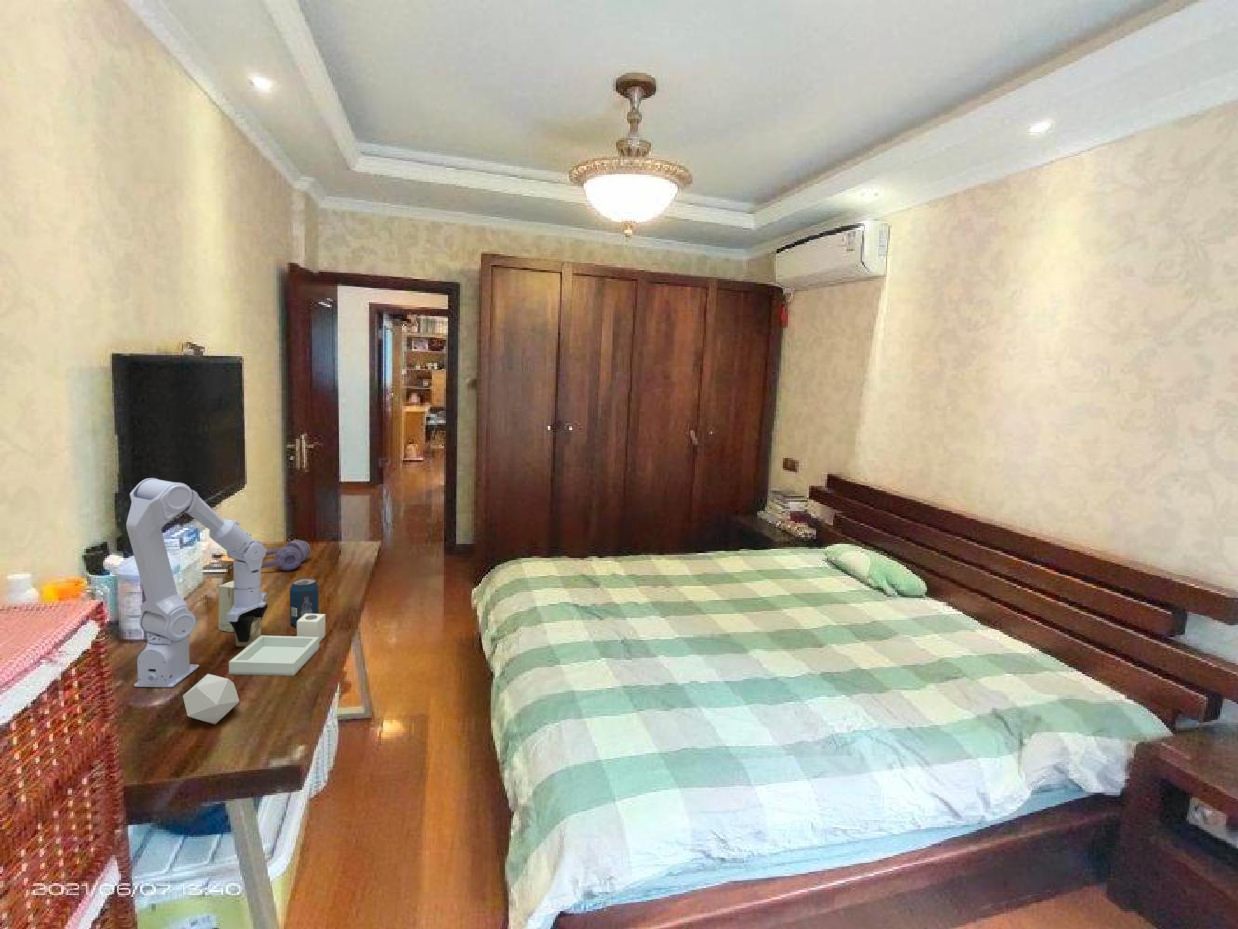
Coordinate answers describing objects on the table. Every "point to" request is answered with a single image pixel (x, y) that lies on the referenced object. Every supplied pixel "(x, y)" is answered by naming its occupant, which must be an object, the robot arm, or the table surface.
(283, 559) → the headphones
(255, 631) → the birch block
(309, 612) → the soda can
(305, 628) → the oversize block
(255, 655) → the tray
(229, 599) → the skincare box
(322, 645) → the table surface
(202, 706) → the die
